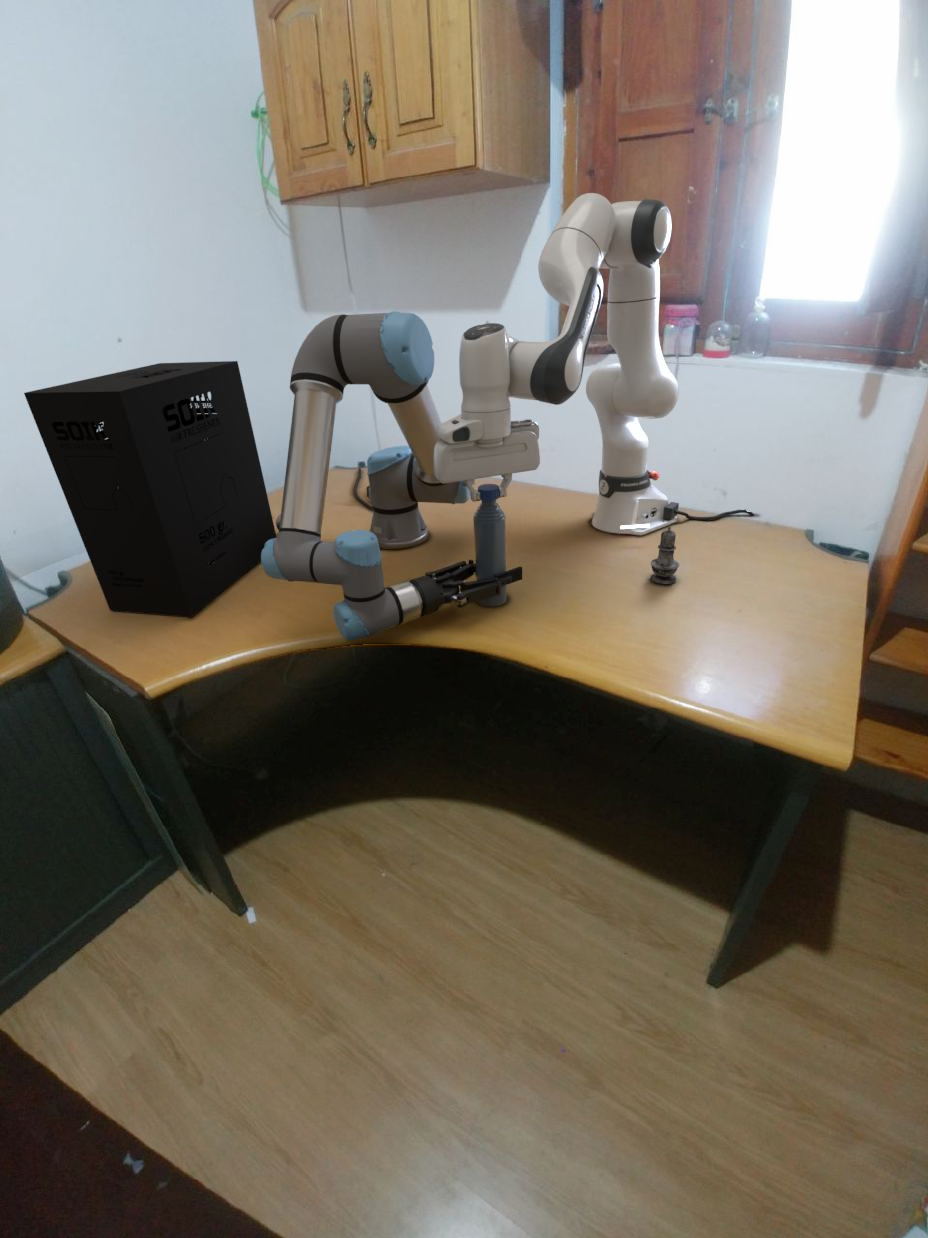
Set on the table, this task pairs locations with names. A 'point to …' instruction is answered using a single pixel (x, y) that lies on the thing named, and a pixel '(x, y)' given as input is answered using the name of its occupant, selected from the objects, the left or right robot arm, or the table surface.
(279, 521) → the eyeball
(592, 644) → the table surface
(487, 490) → the cap
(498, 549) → the bottle
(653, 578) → the grey tapered ringed piece
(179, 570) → the cardboard box
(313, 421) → the left robot arm
